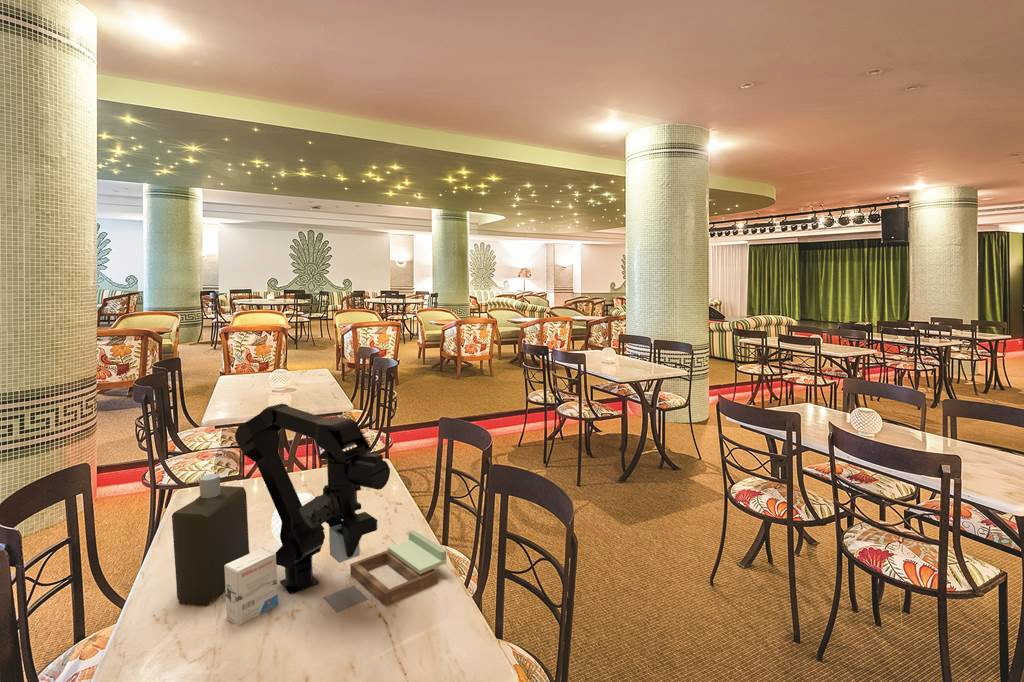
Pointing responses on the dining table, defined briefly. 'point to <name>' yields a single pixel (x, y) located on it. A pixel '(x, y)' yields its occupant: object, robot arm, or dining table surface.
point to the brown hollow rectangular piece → (414, 579)
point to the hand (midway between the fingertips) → (344, 552)
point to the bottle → (208, 540)
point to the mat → (345, 598)
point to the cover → (419, 553)
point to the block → (339, 545)
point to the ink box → (250, 585)
